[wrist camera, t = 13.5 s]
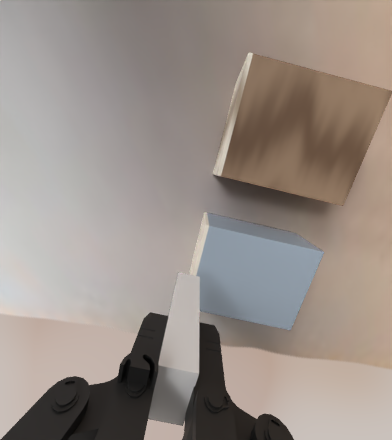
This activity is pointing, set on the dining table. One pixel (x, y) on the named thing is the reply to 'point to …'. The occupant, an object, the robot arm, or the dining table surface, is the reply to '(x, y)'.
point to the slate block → (252, 271)
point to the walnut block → (298, 129)
